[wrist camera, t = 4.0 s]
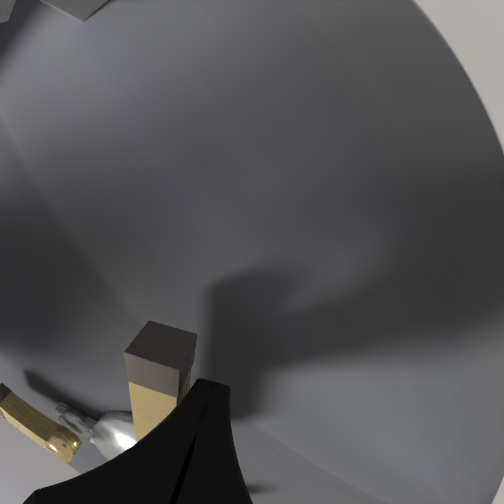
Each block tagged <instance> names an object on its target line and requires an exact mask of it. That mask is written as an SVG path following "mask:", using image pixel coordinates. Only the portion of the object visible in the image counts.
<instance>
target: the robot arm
mask: <svg viewBox="0 0 504 504" xmlns="http://www.w3.org/2000/svg"><path fill="white" fill-rule="evenodd" d="M229 394H230V388H229V387H228V386H227V385H223V384H219V383H216V382H212V381H209V380H205V379H202V378H200V379H197V380H196V382H195V383H194V385H193V386H192V388H191V389H190V391H189V392H188V393H187V395H186V396H185V397H184V398H183V399H182V401H181V402H180V403H179V404H178V405H177V406H176V407H175V408H174V409H173V410H172V411H171V413H170V414H169V415H168V416H167V417H166V418H165V419H164V420H163V421H162V422H160V423H159V424H158V425H157V426H156V427H155V428H154V429H153V430H151V431H150V432H149V433H148V434H147V435H146V436H144V437H143V438H142V439H141V440H139V441H138V442H137V443H135V444H134V445H133V446H131V447H130V448H128V449H127V450H125V451H124V452H123V453H121V454H119V455H118V456H116V457H114V458H113V459H111V460H109V461H108V462H106V463H104V464H102V465H101V466H99V467H97V468H95V469H93V470H90V471H88V472H86V473H84V474H82V475H79V476H77V477H75V478H72V479H70V480H67V481H64V482H61V483H58V484H55V485H51V486H48V487H44V488H41V489H37V490H35V491H34V492H33V493H32V494H31V495H30V496H29V497H28V498H27V499H26V500H25V501H24V503H23V504H253V503H252V500H251V498H250V495H249V493H248V490H247V488H246V485H245V482H244V479H243V476H242V473H241V470H240V467H239V463H238V459H237V455H236V451H235V447H234V442H233V436H232V430H231V423H230V411H229Z"/></svg>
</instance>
